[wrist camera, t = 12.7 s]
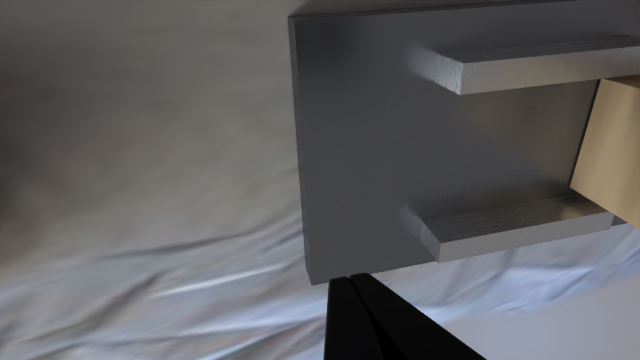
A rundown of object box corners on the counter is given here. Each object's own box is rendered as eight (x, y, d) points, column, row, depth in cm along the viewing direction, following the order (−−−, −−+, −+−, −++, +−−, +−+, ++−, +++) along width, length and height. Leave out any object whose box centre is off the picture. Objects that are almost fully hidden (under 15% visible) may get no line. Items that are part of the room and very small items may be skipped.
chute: (305, 267, 22) (320, 313, 19) (287, 16, 16) (305, 27, 13) (632, 205, 27) (686, 235, 24) (716, -13, 20) (804, -10, 17)
